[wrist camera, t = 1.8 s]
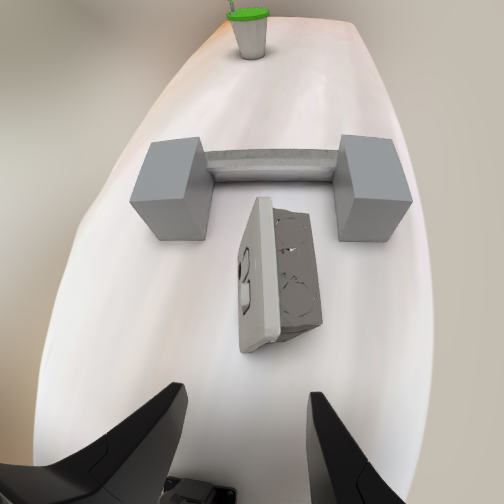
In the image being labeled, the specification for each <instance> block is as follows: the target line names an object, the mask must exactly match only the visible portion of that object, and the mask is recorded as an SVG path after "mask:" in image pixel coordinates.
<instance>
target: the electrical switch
mask: <svg viewBox="0 0 504 504" xmlns="http://www.w3.org/2000/svg"><path fill="white" fill-rule="evenodd" d="M304 227H305V228H304ZM290 248H296V249H295V250H293V251H292V252H291V251H289V250H290ZM284 274H285V275H284ZM292 277H298V278H292ZM299 282H302V283H303V284H301V283H299ZM314 298H315V299H314ZM313 301H314V302H313ZM238 305H239V347H240V352H253V351H254V350H256V349H257V348H259V347H260V346H262V345H264V344H265V343H272V342H285V341H287V340H289V339H292V338H294V337H296V336H298V335H301V334H303V333H305V332H307V331H309V330H311V329H314V328H316V327H318V326H320V325H307V324H322V323H323V321H322V311H321V301H320V292H319V283H318V275H317V267H316V259H315V251H314V244H313V237H312V230H311V224H310V217H309V214H306V213H295V212H290V211H287V210H282V209H275V208H272V198H270V197H257V198H256V200H255V203H254V206H253V209H252V211H251V214H250V217H249V220H248V223H247V226H246V229H245V232H244V235H243V238H242V241H241V244H240V248H239V253H238Z"/></svg>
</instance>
